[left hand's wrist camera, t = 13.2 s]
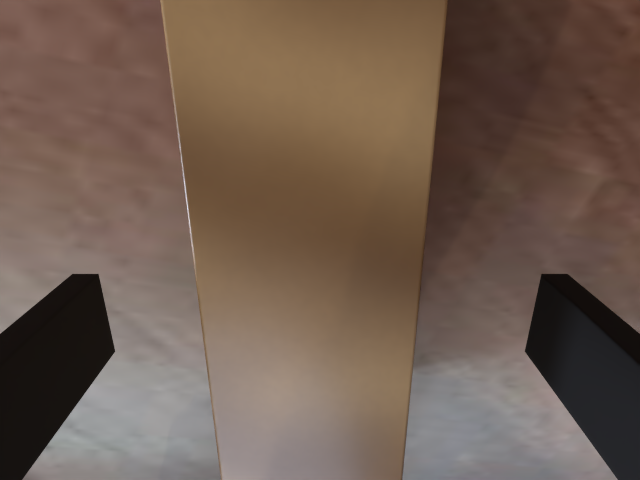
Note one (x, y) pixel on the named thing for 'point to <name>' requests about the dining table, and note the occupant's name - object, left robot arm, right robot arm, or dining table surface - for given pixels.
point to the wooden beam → (307, 221)
